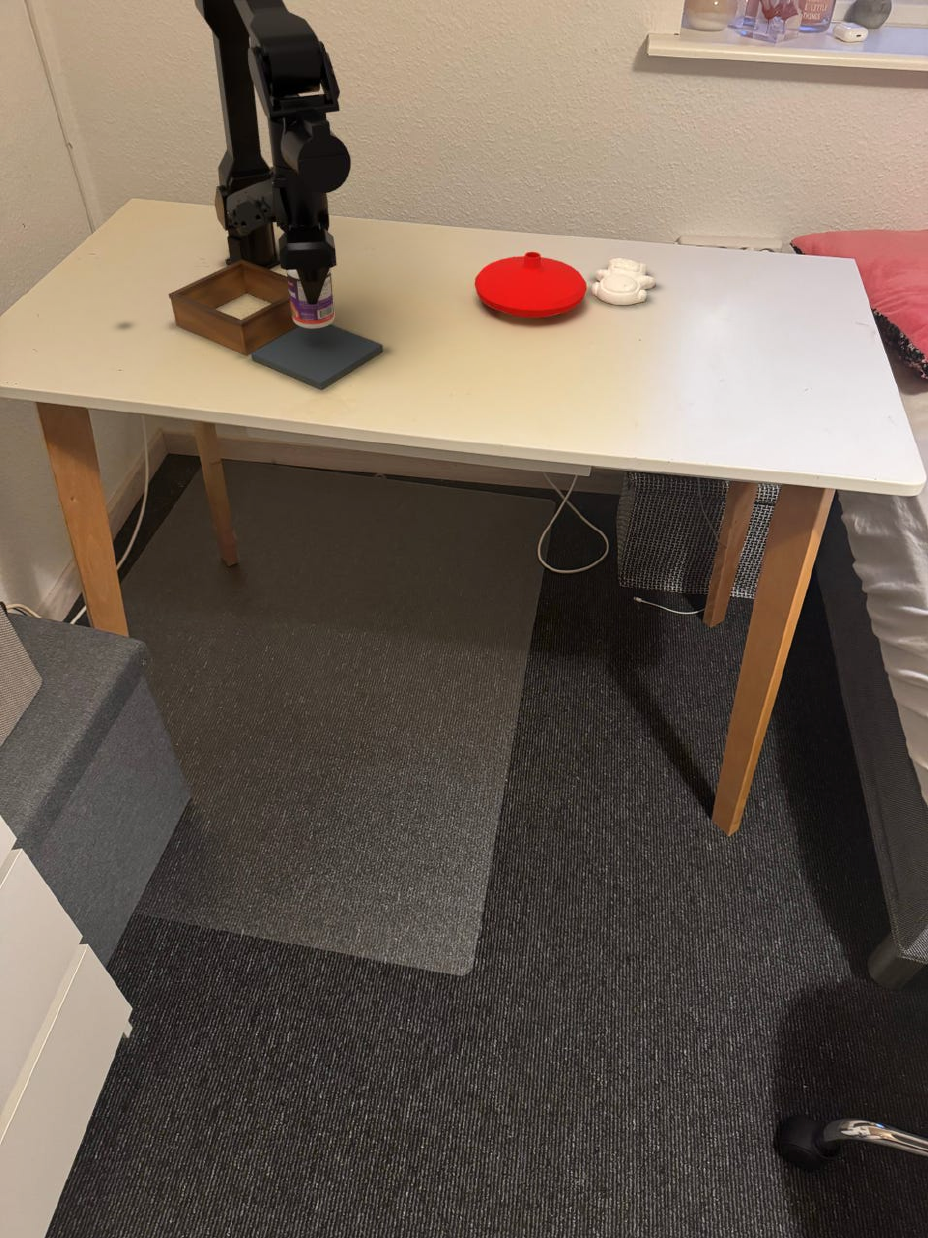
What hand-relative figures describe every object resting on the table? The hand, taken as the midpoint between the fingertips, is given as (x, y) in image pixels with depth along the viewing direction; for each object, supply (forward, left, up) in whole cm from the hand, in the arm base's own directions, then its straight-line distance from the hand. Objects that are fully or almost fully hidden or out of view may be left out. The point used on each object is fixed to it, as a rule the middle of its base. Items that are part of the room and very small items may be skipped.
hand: (311, 292), depth 116 cm
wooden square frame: (-1, -14, -9) cm, 16 cm away
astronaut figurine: (-42, +22, -9) cm, 48 cm away
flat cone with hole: (-29, +14, -9) cm, 33 cm away
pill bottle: (0, 0, -4) cm, 4 cm away
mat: (0, 0, -9) cm, 9 cm away
